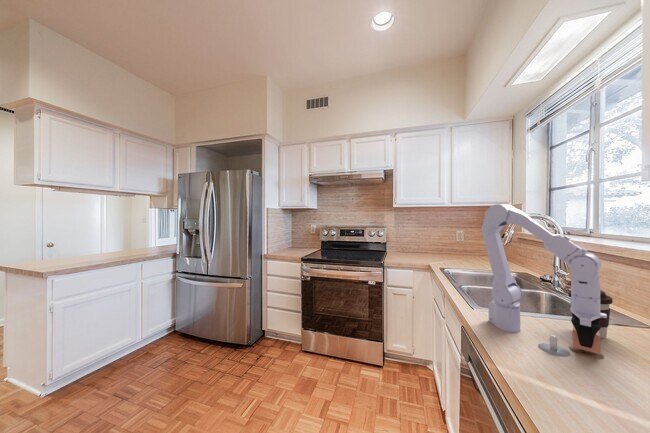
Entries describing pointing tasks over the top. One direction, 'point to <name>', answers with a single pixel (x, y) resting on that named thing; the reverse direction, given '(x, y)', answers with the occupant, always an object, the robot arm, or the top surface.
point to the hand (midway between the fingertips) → (585, 342)
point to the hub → (586, 353)
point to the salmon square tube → (594, 348)
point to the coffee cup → (604, 309)
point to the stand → (554, 348)
